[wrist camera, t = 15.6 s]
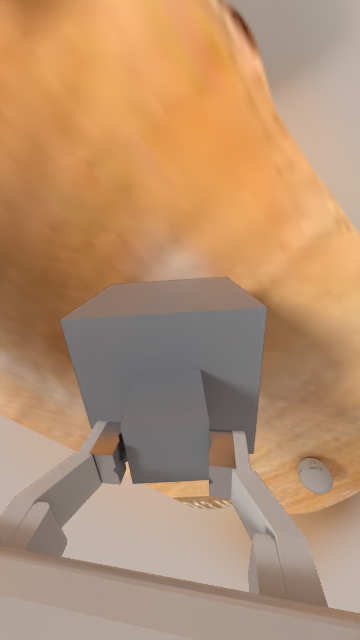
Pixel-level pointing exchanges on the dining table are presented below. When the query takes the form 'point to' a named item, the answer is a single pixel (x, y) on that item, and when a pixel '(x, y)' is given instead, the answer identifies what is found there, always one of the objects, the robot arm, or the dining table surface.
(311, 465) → the golf ball
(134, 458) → the grey blocky shape
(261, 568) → the robot arm
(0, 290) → the dining table surface
